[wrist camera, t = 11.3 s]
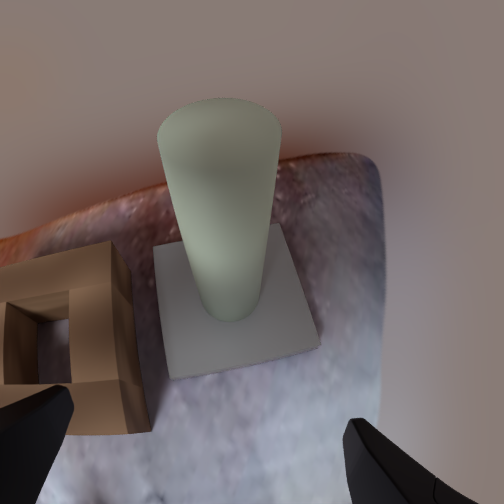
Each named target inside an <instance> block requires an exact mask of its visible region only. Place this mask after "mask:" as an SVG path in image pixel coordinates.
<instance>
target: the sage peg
mask: <svg viewBox="0 0 504 504" xmlns="http://www.w3.org/2000/svg"><path fill="white" fill-rule="evenodd" d="M281 136H282V129H281V124H280V122H279V120H278V119H277V118H276V117H275V115H274V114H273V113H272V112H270V111H269V110H268V109H266V108H264V107H263V106H260V105H258V104H256V103H253V102H250V101H246V100H241V99H234V98H214V99H207V100H202V101H198V102H194V103H191V104H188V105H186V106H184V107H182V108H180V109H178V110H176V111H175V112H174V113H172V114H171V115H170V116H168V117H167V119H165V121H164V122H163V123H162V125H161V127H160V128H159V130H158V134H157V142H158V146H159V151H160V155H161V159H162V163H163V167H164V171H165V175H166V180H167V184H168V188H169V191H170V195H171V199H172V203H173V207H174V210H175V214H176V218H177V221H178V225H179V229H180V232H181V236H182V239H183V243H184V246H185V250H186V253H187V256H188V260H189V263H190V266H191V270H192V273H193V276H194V280H195V283H196V286H197V289H198V292H199V295H200V299H201V302H202V305H203V307H204V308H205V310H206V311H207V312H208V314H210V315H211V316H212V317H214V318H215V319H217V320H220V321H224V322H235V321H239V320H242V319H244V318H246V317H247V316H249V315H250V314H251V313H252V312H253V311H254V309H255V308H256V306H257V304H258V300H259V294H260V288H261V281H262V274H263V267H264V260H265V253H266V246H267V239H268V232H269V225H270V218H271V211H272V204H273V196H274V189H275V182H276V174H277V167H278V159H279V151H280V144H281Z"/></svg>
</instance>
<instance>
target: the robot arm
mask: <svg viewBox="0 0 504 504" xmlns="http://www.w3.org/2000/svg"><path fill="white" fill-rule="evenodd" d="M73 412H74V403H73V400H72V397H71V394H70V391H69V389H68V388H67V387H65V386H62V385H59V384H56V385H54V386H52V387H49V388H47V389H45V390H42V391H40V392H38V393H35V394H33V395H31V396H28V397H26V398H24V399H21V400H19V401H16V402H14V403H12V404H9V405H7V406H4V407H2V408H0V504H35V503H36V501H37V499H38V496H39V494H40V491H41V489H42V487H43V484H44V482H45V480H46V478H47V475H48V473H49V471H50V469H51V467H52V464H53V462H54V460H55V458H56V456H57V454H58V452H59V450H60V447H61V445H62V443H63V440H64V437H65V434H66V432H67V429H68V426H69V423H70V420H71V418H72V415H73ZM343 449H344V458H345V467H346V476H347V483H348V487H349V492H350V496H351V500H352V504H478V503H476V502H475V501H473V500H471V499H469V498H467V497H465V496H464V495H462V494H460V493H459V492H457V491H455V490H454V489H453V488H451V487H450V486H448V485H447V484H445V483H444V482H443V481H441V480H440V479H439V478H436V477H435V475H433V474H432V473H430V472H429V471H428V470H427V469H425V468H424V467H423V466H422V465H420V464H419V463H418V462H417V461H415V460H414V459H413V458H411V457H410V456H409V455H408V454H406V453H405V452H404V451H403V450H401V449H400V448H399V447H398V446H397V445H395V444H394V443H393V442H392V441H390V440H389V439H388V438H387V437H386V436H384V435H383V434H382V433H381V432H379V431H378V430H377V429H376V428H375V427H373V426H372V425H371V424H370V423H369V422H368V421H366V420H365V419H364V418H352V419H350V420H349V422H348V424H347V427H346V430H345V432H344V435H343Z"/></svg>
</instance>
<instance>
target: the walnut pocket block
mask: <svg viewBox="0 0 504 504" xmlns="http://www.w3.org/2000/svg"><path fill="white" fill-rule="evenodd" d="M62 319H69V347H70V365H71V377H72V383H65V384H59V385H62V386H65V387H67V388H68V389H69V391H70V394H71V397H72V400H73V403H74V412H73V415H72V418H71V420H70V423H69V426H68V429H67V432H66V434H65V435H120V434H134V433H143V432H151V427H150V422H149V417H148V412H147V407H146V402H145V396H144V390H143V384H142V378H141V371H140V365H139V357H138V350H137V341H136V332H135V323H134V312H133V300H132V285H131V271H130V269H129V268H128V266H127V265H126V263H125V262H124V260H123V259H122V257H121V255H120V254H119V252H118V251H117V249H116V247H115V246H114V244H113V242H112V241H111V240H110V241H106V242H101V243H97V244H92V245H88V246H84V247H79V248H75V249H71V250H67V251H63V252H58V253H54V254H50V255H46V256H42V257H38V258H34V259H30V260H26V261H23V262H19V263H15V264H11V265H7V266H4V267H0V408H2V407H4V406H7V405H9V404H12V403H14V402H16V401H19V400H21V399H24V398H26V397H28V396H31V395H33V394H35V393H38V392H40V391H42V390H45V389H47V388H49V387H52V386H54V385H56V384H39V380H38V360H37V323H42V322H49V321H56V320H62Z"/></svg>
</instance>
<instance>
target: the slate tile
mask: <svg viewBox="0 0 504 504" xmlns="http://www.w3.org/2000/svg"><path fill="white" fill-rule="evenodd" d="M153 255H154V267H155V277H156V287H157V296H158V305H159V313H160V320H161V328H162V335H163V341H164V348H165V354H166V360H167V366H168V372H169V377H170V379H172V380H173V381H174V380H180V379H186V378H192V377H198V376H203V375H209V374H214V373H219V372H224V371H229V370H234V369H238V368H243V367H247V366H252V365H256V364H260V363H264V362H269V361H273V360H277V359H280V358H284V357H288V356H292V355H296V354H299V353H303V352H306V351H310V350H313V349H317V348H318V347H319V346H320V345H321V342H320V339H319V336H318V333H317V330H316V327H315V324H314V321H313V318H312V315H311V312H310V309H309V306H308V303H307V300H306V297H305V294H304V292H303V289H302V286H301V283H300V280H299V277H298V274H297V271H296V268H295V266H294V263H293V260H292V257H291V254H290V251H289V249H288V246H287V243H286V240H285V238H284V235H283V232H282V229H281V227H280V224H279V223H276V224H270V225H269V232H268V239H267V246H266V253H265V260H264V267H263V274H262V281H261V288H260V294H259V300H258V304H257V306H256V308H255V309H254V311H253V312H252V313H251V314H250V315H249V316H247V317H246V318H244V319H242V320H239V321H235V322H224V321H220V320H217V319H215V318H214V317H212V316H211V315H210V314H208V312H207V311H206V310H205V308H204V307H203V305H202V302H201V299H200V295H199V292H198V289H197V286H196V283H195V280H194V276H193V273H192V270H191V266H190V263H189V260H188V256H187V253H186V250H185V246H184V243H183V241H179V242H174V243H169V244H164V245H159V246H154V247H153Z"/></svg>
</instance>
